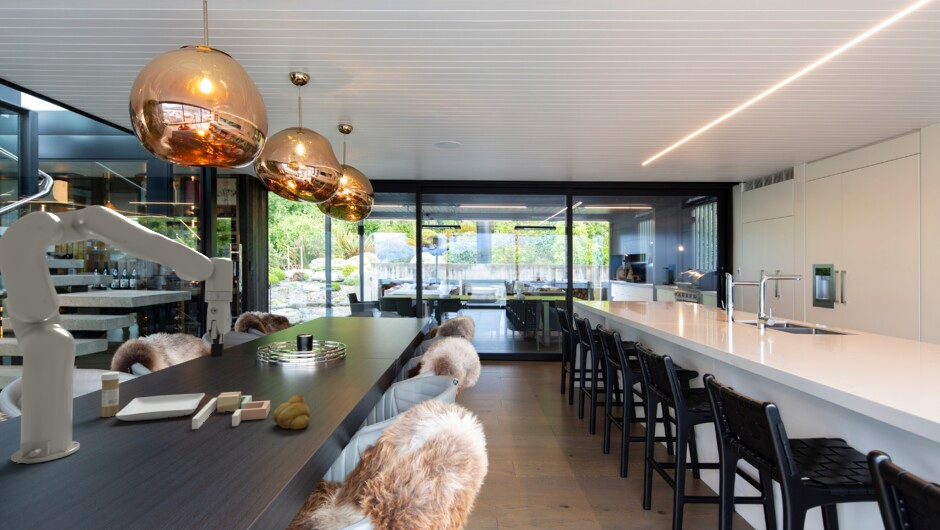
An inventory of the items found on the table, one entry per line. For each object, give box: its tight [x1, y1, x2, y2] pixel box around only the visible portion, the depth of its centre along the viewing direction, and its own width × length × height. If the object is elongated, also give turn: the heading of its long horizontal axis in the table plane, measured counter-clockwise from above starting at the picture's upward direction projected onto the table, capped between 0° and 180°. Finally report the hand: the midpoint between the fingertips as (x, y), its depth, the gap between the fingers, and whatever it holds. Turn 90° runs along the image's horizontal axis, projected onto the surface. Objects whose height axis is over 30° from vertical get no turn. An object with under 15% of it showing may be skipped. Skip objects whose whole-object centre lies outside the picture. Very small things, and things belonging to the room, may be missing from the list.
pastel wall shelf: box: [191, 395, 271, 430], centre depth 150 cm, size 24×19×3 cm
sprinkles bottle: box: [100, 371, 120, 418], centre depth 149 cm, size 5×5×13 cm
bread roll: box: [272, 394, 311, 430], centre depth 139 cm, size 13×10×8 cm
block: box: [216, 391, 242, 413], centre depth 156 cm, size 6×6×5 cm
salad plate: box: [114, 392, 206, 422], centre depth 153 cm, size 21×21×3 cm
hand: (217, 356), depth 146 cm, fingers closed
